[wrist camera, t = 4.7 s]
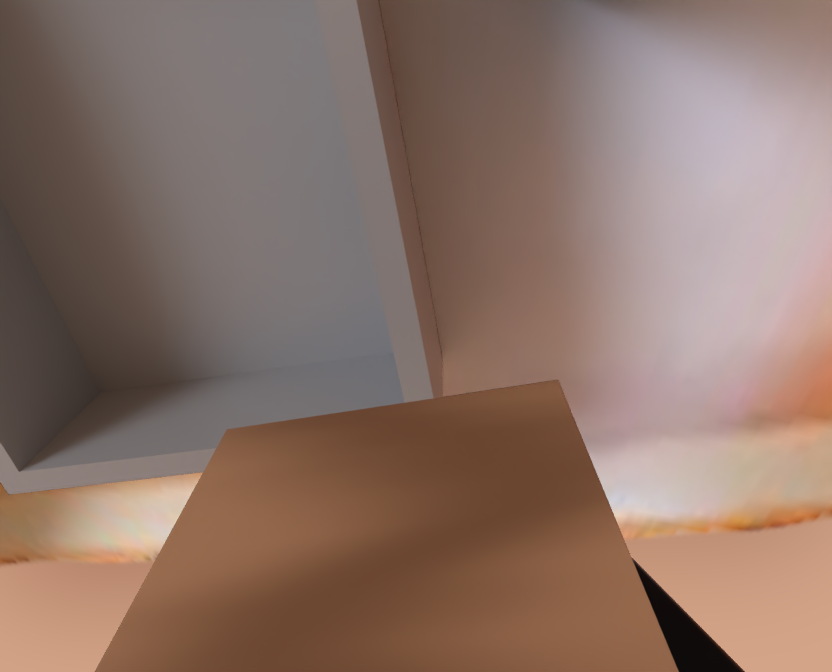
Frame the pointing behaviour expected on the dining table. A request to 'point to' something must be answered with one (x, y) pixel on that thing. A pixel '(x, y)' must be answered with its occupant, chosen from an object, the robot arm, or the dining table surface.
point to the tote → (198, 231)
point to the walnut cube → (398, 550)
